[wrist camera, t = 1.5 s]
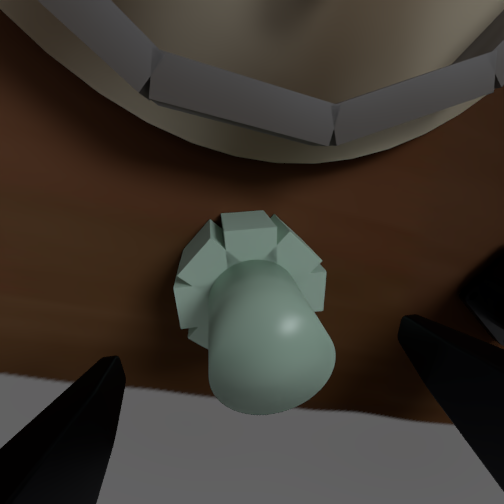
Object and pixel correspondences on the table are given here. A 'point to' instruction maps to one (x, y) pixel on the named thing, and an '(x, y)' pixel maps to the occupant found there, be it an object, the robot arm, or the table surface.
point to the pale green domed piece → (256, 312)
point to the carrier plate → (279, 67)
